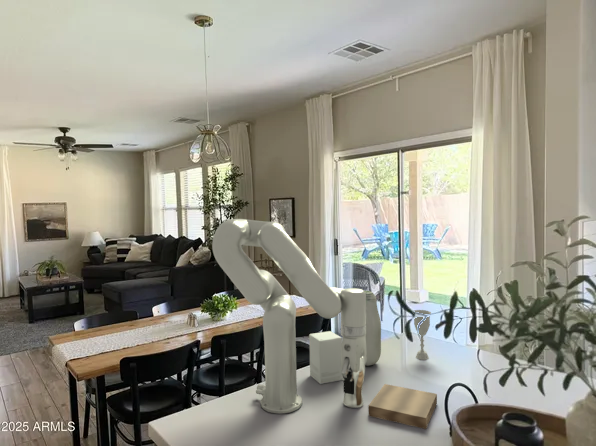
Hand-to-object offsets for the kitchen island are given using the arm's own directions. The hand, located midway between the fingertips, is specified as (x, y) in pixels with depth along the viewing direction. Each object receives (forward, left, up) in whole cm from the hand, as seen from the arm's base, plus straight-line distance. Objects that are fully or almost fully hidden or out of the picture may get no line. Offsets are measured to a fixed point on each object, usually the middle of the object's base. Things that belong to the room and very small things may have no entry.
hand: (353, 388), depth 124 cm
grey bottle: (-7, +32, -5) cm, 33 cm away
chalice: (+10, +48, -5) cm, 50 cm away
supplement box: (-16, +14, -5) cm, 22 cm away
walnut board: (+14, +3, -5) cm, 16 cm away
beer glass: (0, 0, -5) cm, 5 cm away
